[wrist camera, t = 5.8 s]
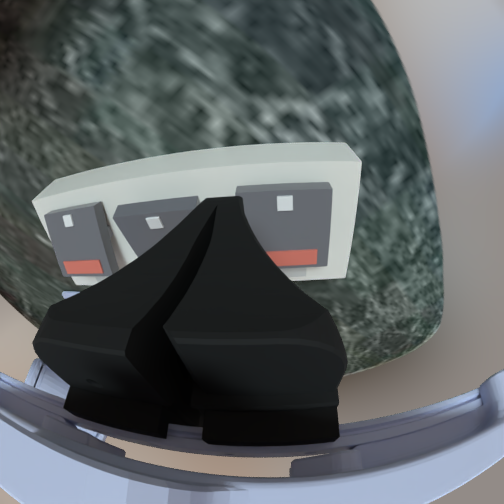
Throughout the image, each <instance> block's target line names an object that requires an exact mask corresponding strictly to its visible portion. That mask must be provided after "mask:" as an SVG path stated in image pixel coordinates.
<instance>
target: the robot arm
mask: <svg viewBox="0 0 504 504" xmlns="http://www.w3.org/2000/svg"><path fill="white" fill-rule="evenodd" d="M62 295H63V297H64V298H65V299H64V300H62V301H60V302H58V303H56V304H53V305H51V306H50V308H49V309H48V311H47V313H46V315H45V317H44V319H43V321H42V323H41V325H40V327H39V330H38V332H37V334H36V336H35V338H34V340H33V347H34V350H35V352H36V354H37V355H38V357H39V358H37V359H35V360H34V361H33V363H32V365H31V368H30V370H29V372H28V375H27V377H26V380H25V383H23V382H20V381H18V380H16V379H14V378H12V377H10V376H8V375H6V374H4V373H1V372H0V487H1V488H2V489H3V490H4V491H6V492H7V493H8V494H9V495H10V496H12V497H13V498H14V499H16V500H17V501H18V502H19V503H21V504H428V503H430V502H432V501H434V500H436V499H438V498H440V497H442V496H444V495H446V494H447V493H449V492H451V491H453V490H455V489H456V488H458V487H460V486H461V485H463V484H465V483H466V482H468V481H470V480H471V479H473V478H474V477H476V476H478V475H479V474H481V473H482V472H483V471H485V470H486V469H488V468H489V467H491V466H492V465H493V464H495V463H496V462H498V461H499V460H500V459H502V458H503V457H504V369H503V370H501V371H499V372H497V373H495V374H494V375H492V376H491V377H489V378H488V379H487V380H486V381H485V382H484V383H482V385H480V387H479V388H477V389H474V390H472V391H469V392H467V393H464V394H461V395H459V396H456V397H453V398H450V399H447V400H445V401H441V402H438V403H435V404H432V405H428V406H425V407H422V408H418V409H414V410H411V411H407V412H403V413H399V414H394V415H390V416H386V417H380V418H376V419H370V420H365V421H359V422H353V423H346V424H339V423H338V413H337V406H338V405H339V398H338V389H337V388H338V386H339V384H340V381H341V379H342V377H343V375H344V373H345V371H346V368H347V362H348V361H347V356H346V351H345V348H344V345H343V342H342V339H341V336H340V334H339V331H338V329H337V327H336V325H335V323H334V321H333V319H332V317H331V315H330V313H329V311H328V310H327V309H325V308H324V307H323V306H321V305H320V304H319V303H317V302H316V301H314V300H313V299H312V298H310V297H309V296H308V295H307V294H305V293H304V292H303V291H302V290H301V289H300V288H299V287H298V286H296V285H295V284H294V283H293V282H292V281H291V280H290V279H289V278H288V277H287V276H286V275H285V274H284V273H283V272H282V271H281V270H280V269H279V267H278V266H277V265H276V264H275V263H274V262H273V261H272V259H271V258H270V257H269V256H268V254H267V253H266V252H265V250H264V249H263V247H262V246H261V244H260V243H259V241H258V240H257V238H256V236H255V234H254V233H253V231H252V229H251V227H250V225H249V223H248V220H247V218H246V216H245V213H244V204H243V198H242V197H241V196H227V197H213V198H205V199H204V200H203V201H202V202H201V203H200V204H199V205H198V206H197V207H196V208H195V209H194V210H192V211H191V212H190V213H189V214H188V215H187V216H186V217H185V218H184V219H183V220H182V221H181V222H180V223H179V224H178V225H177V226H176V227H175V228H173V229H172V230H171V231H170V232H169V233H168V234H167V235H166V236H164V237H163V238H162V239H161V240H160V241H159V242H158V243H156V244H155V245H154V246H153V247H151V248H150V249H149V250H147V251H146V252H145V253H143V254H142V255H141V256H139V257H138V258H137V259H135V260H134V261H132V262H131V263H129V264H128V265H126V266H124V267H123V268H121V269H120V270H118V271H117V272H115V273H114V274H112V275H111V276H109V277H107V278H105V279H104V280H102V281H100V282H99V283H97V284H95V285H93V286H91V287H89V288H87V289H85V290H83V291H81V292H74V291H63V293H62ZM107 436H110V437H113V438H117V439H121V440H125V441H128V442H133V443H137V444H142V445H146V446H151V447H156V448H161V449H167V450H173V451H179V452H186V453H194V454H203V455H215V456H228V457H293V456H308V455H318V454H324V455H319V456H313V457H307V458H301V459H295V460H293V461H292V462H291V468H290V477H277V478H276V477H275V478H274V477H272V478H267V477H238V476H225V475H215V474H206V473H198V472H191V471H185V470H179V469H174V468H168V467H163V466H158V465H154V464H149V463H145V462H141V461H137V460H133V459H130V458H126V457H125V453H126V452H125V451H124V450H122V449H120V448H117V447H115V446H112V445H110V444H108V443H106V442H105V439H106V437H107ZM327 453H329V454H327Z"/></svg>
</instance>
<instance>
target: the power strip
mask: <svg viewBox="0 0 504 504" xmlns="http://www.w3.org/2000/svg"><path fill="white" fill-rule="evenodd" d="M361 165H362V161H361V160H360V159H359V158H358V157H357V155H356V154H355V153H354V152H353V151H352V150H351V148H350V147H349V146H348V145H347V144H346V143H342V142H302V143H274V144H257V145H243V146H231V147H221V148H212V149H203V150H195V151H188V152H181V153H174V154H167V155H161V156H155V157H150V158H144V159H139V160H134V161H129V162H124V163H119V164H114V165H110V166H105V167H101V168H97V169H93V170H89V171H85V172H81V173H77V174H73V175H70V176H66V177H62V178H59V179H56V180H54V181H53V182H52V183H51V184H50V185H48V186H47V187H46V188H45V189H44V190H43V191H42V192H41V193H40V194H39V195H37V196H36V197H35V198H34V199H33V200H32V202H33V205H34V207H35V209H36V211H37V214H38V216H39V218H40V220H41V222H42V224H43V226H44V228H45V230H46V232H47V234H48V236H49V238H50V235H49V232H48V228H47V225H46V221H45V218H44V215H45V214H47V213H48V212H50V211H52V210H57V209H62V208H67V207H72V206H77V205H83V204H88V203H94V202H99V201H101V202H102V206H103V211H104V215H105V219H106V223H107V227H108V231H109V235H110V239H111V243H112V246H113V250H114V253H115V257H116V260H117V263H118V267H119V270H120V269H121V268H123V267H124V266H126V265H128V264H129V263H131V262H132V261H134V260H135V259H137V258H138V257H137V255H136V254H135V252H134V251H133V249H132V248H131V246H130V245H129V243H128V242H127V240H126V238H125V237H124V235H123V234H122V232H121V231H120V229H119V228H118V226H117V224H116V223H115V221H114V220H113V215H114V213H115V211H116V208H117V206H118V205H123V204H130V203H138V202H145V201H153V200H162V199H171V198H180V197H190V196H198V197H199V200H200V203H201V202H202V201H203V200H204V199H205V198H213V197H227V196H235V192H236V188H237V186H245V185H261V184H280V183H306V182H329V183H330V185H331V187H332V189H333V193H332V212H331V228H330V241H329V253H328V264H327V266H324V267H305V268H285V269H280V270H281V271H282V272H283V273H284V274H285V275H286V276H287V277H288V278H289V279H290V280H291V281H300V280H318V279H335V278H345V276H346V271H347V266H348V260H349V255H350V249H351V243H352V237H353V230H354V224H355V217H356V210H357V202H358V194H359V185H360V175H361ZM50 240H51V238H50ZM107 277H109V276H76V277H72V279H73V280H74V282H75V283H76V285H95V284H97V283H99V282H100V281H102V280H104V279H105V278H107Z"/></svg>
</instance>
